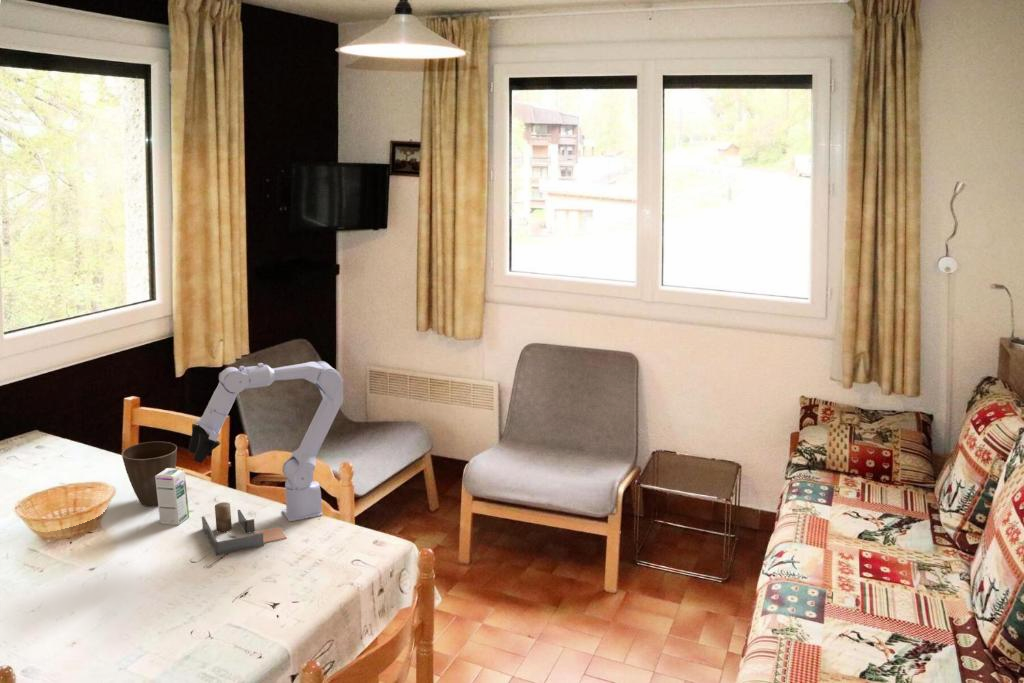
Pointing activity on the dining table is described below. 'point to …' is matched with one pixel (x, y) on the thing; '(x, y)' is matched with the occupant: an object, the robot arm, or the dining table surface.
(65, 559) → the dining table surface
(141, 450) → the plant pot
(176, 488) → the syrup box
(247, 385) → the robot arm
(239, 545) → the rail channel
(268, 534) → the coaster
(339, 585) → the dining table surface
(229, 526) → the walnut peg
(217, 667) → the dining table surface
